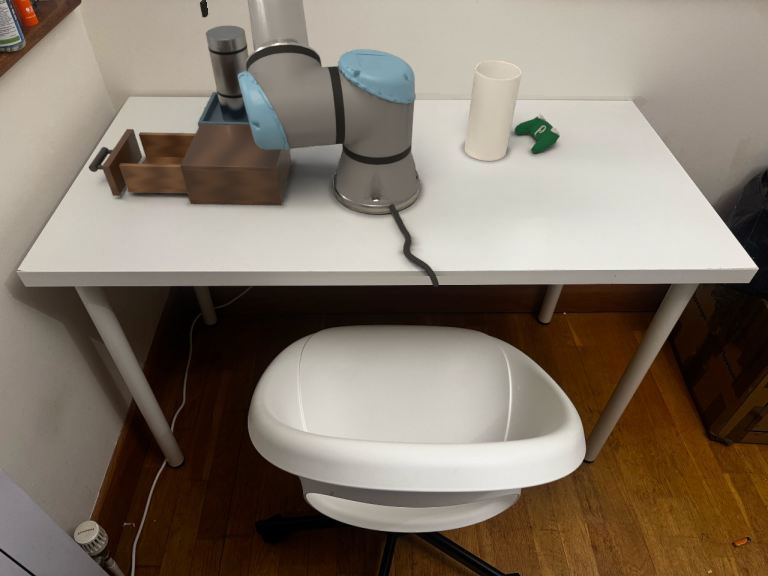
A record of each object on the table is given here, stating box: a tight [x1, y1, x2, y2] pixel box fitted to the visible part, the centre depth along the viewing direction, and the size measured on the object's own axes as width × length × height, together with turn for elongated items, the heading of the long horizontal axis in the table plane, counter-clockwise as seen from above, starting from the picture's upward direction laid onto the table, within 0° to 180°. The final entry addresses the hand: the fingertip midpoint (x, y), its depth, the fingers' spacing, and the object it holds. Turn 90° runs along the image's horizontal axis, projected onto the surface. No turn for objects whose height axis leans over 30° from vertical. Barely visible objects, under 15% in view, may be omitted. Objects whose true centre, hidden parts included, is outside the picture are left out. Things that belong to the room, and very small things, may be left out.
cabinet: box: [180, 124, 292, 206], centre depth 99 cm, size 16×14×8 cm
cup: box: [464, 60, 522, 162], centre depth 105 cm, size 8×8×16 cm
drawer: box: [88, 128, 196, 197], centre depth 99 cm, size 19×12×6 cm, turn 90°
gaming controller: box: [514, 113, 560, 154], centre depth 112 cm, size 9×4×6 cm
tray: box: [197, 91, 250, 128], centre depth 117 cm, size 14×14×2 cm
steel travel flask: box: [205, 25, 249, 122], centre depth 112 cm, size 7×7×17 cm
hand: (236, 11), depth 112 cm, fingers open, 13 cm apart
